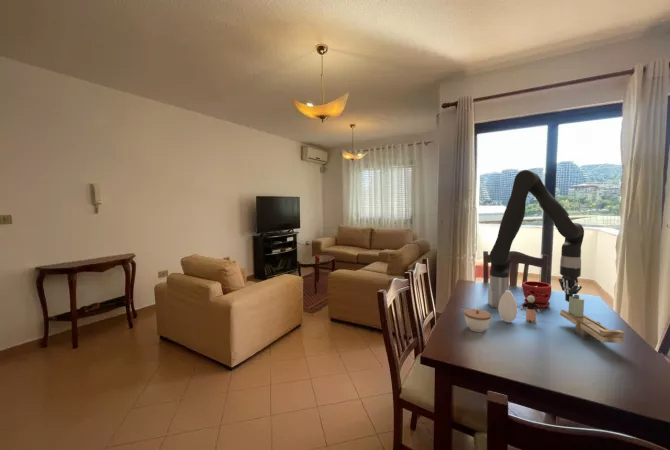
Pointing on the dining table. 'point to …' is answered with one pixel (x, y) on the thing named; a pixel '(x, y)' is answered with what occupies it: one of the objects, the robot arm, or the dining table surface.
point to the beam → (593, 329)
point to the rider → (576, 306)
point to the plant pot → (537, 292)
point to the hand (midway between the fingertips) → (568, 301)
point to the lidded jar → (477, 319)
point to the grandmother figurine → (530, 309)
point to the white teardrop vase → (507, 306)
